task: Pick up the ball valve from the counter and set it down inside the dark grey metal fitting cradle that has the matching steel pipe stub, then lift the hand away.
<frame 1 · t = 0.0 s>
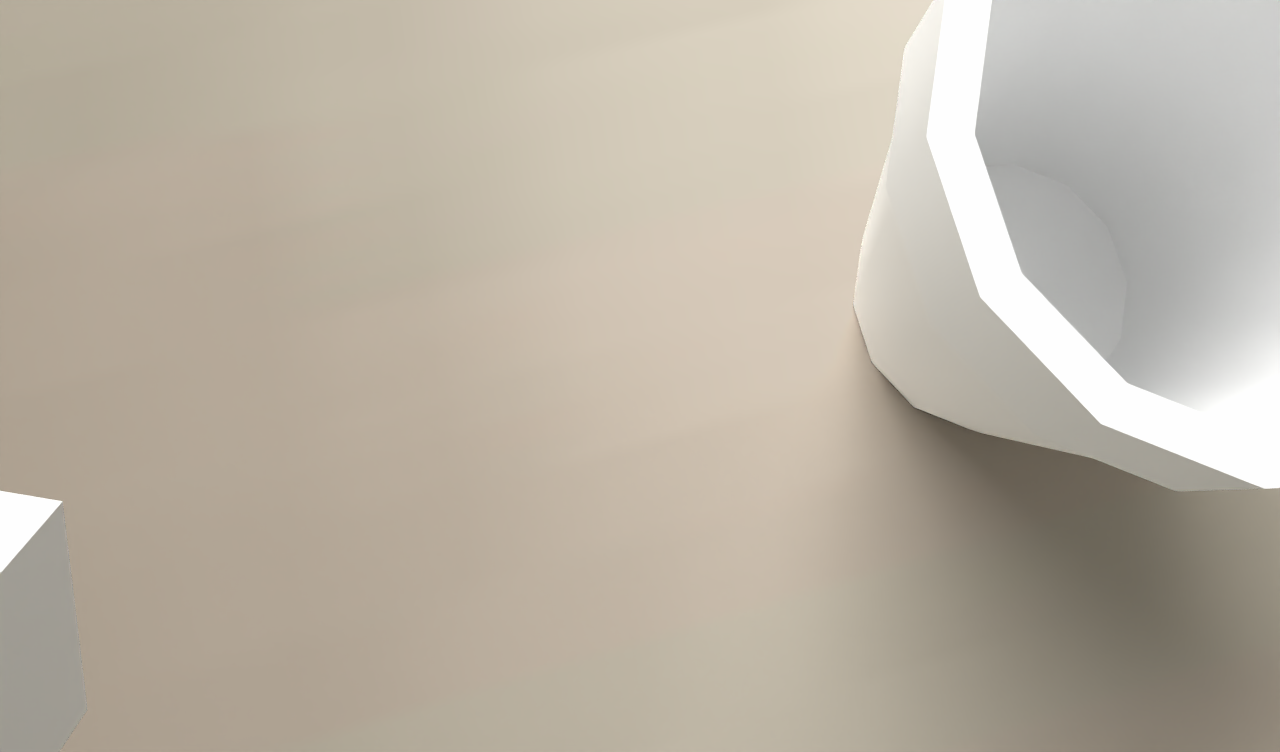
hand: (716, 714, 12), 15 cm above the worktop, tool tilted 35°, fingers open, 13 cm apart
foam cup: (985, 297, 28), on the worktop
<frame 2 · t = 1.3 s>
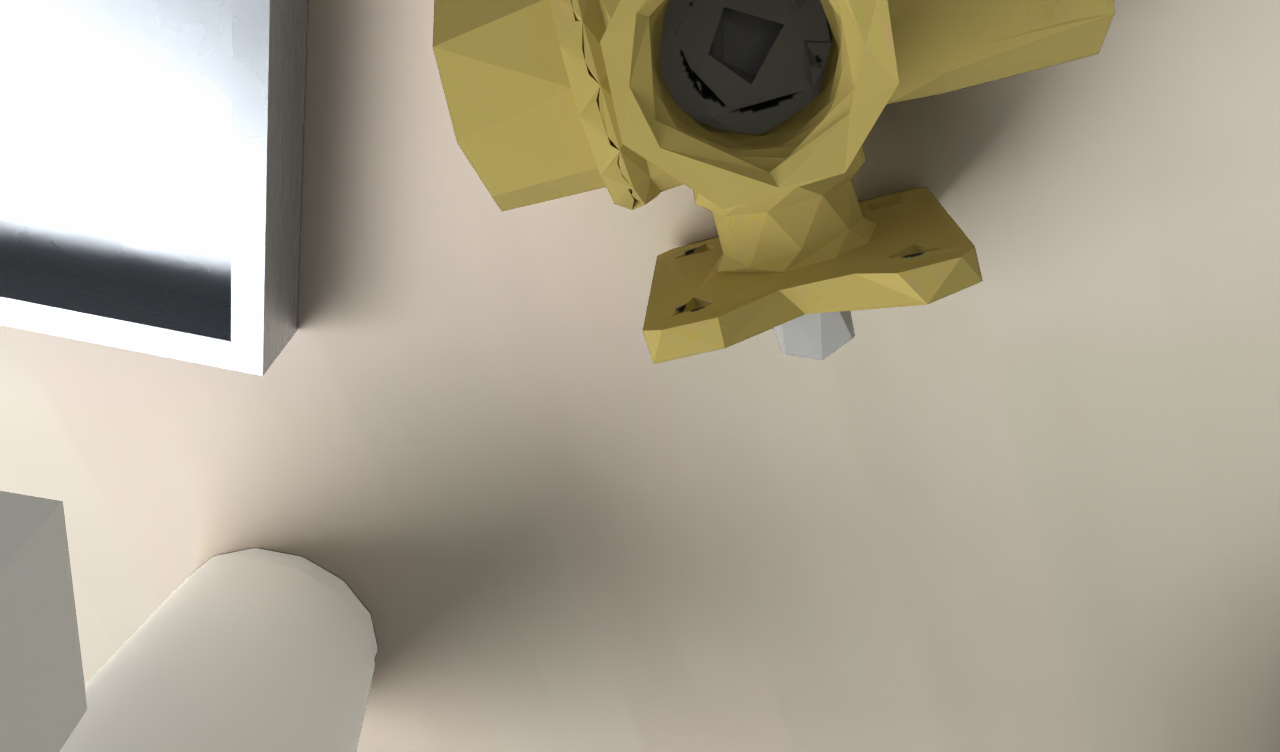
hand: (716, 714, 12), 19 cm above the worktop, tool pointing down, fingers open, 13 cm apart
foam cup: (279, 626, 37), on the worktop
ball valve: (783, 82, 28), on the worktop
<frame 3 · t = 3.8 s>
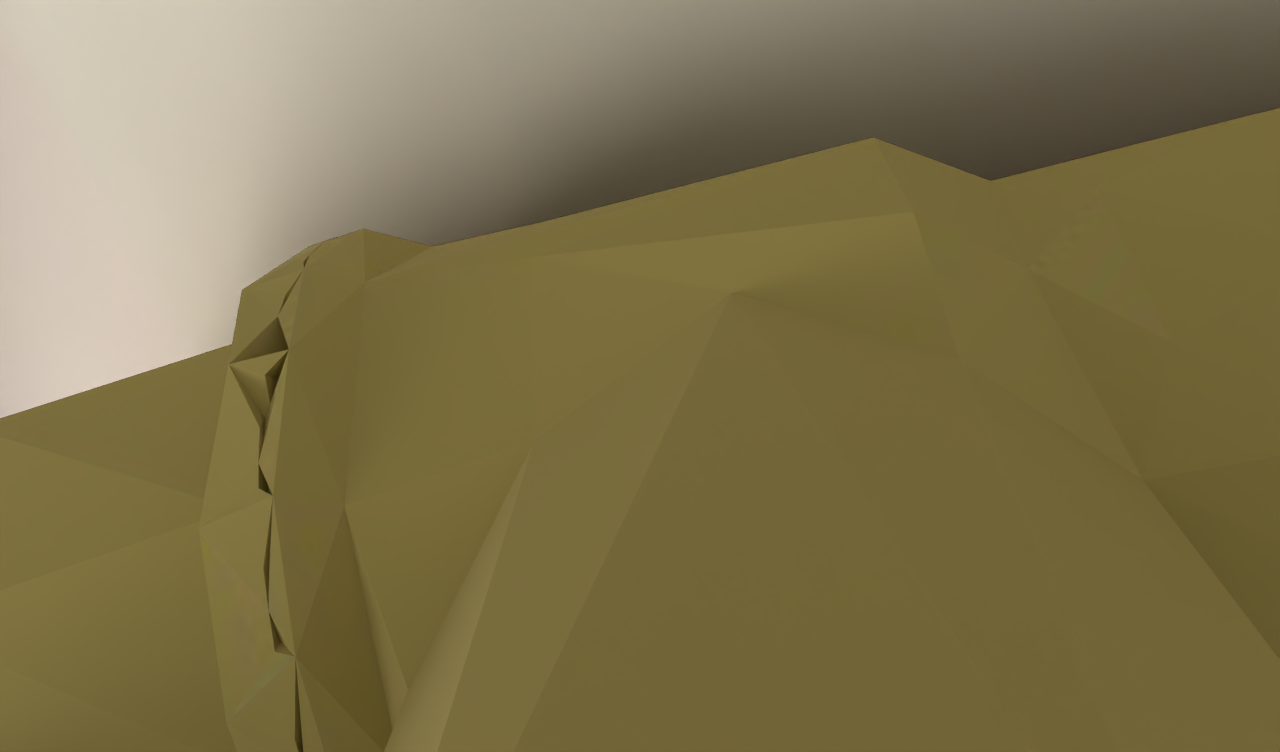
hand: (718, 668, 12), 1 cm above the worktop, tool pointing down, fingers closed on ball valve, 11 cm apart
ball valve: (857, 499, 13), on the worktop, touching gripper
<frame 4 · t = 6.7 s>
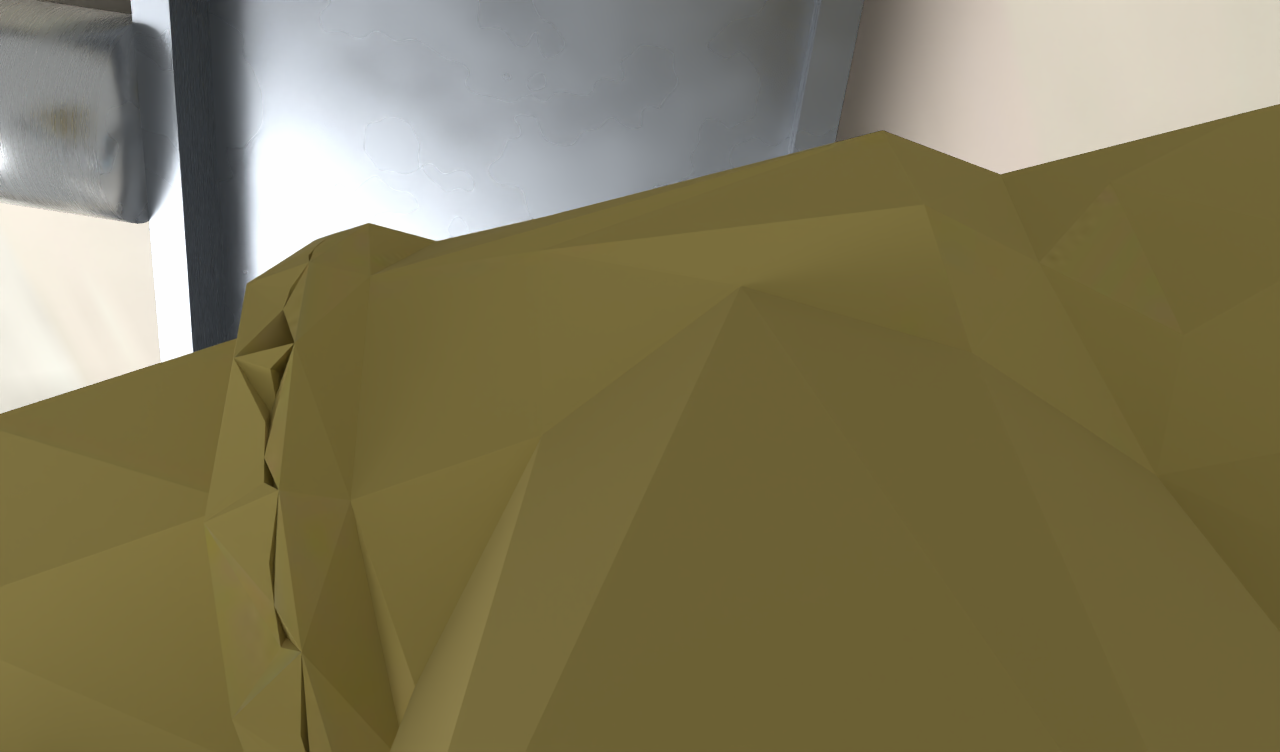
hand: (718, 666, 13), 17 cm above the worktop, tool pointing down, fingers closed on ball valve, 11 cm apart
fitting cradle: (500, 141, 28), on the worktop
ball valve: (863, 496, 13), point 16 cm above the worktop, touching gripper
when the fingers open (4 cm above the worktop, at t = 9.8 s): ball valve stays where it is, resting on fitting cradle.
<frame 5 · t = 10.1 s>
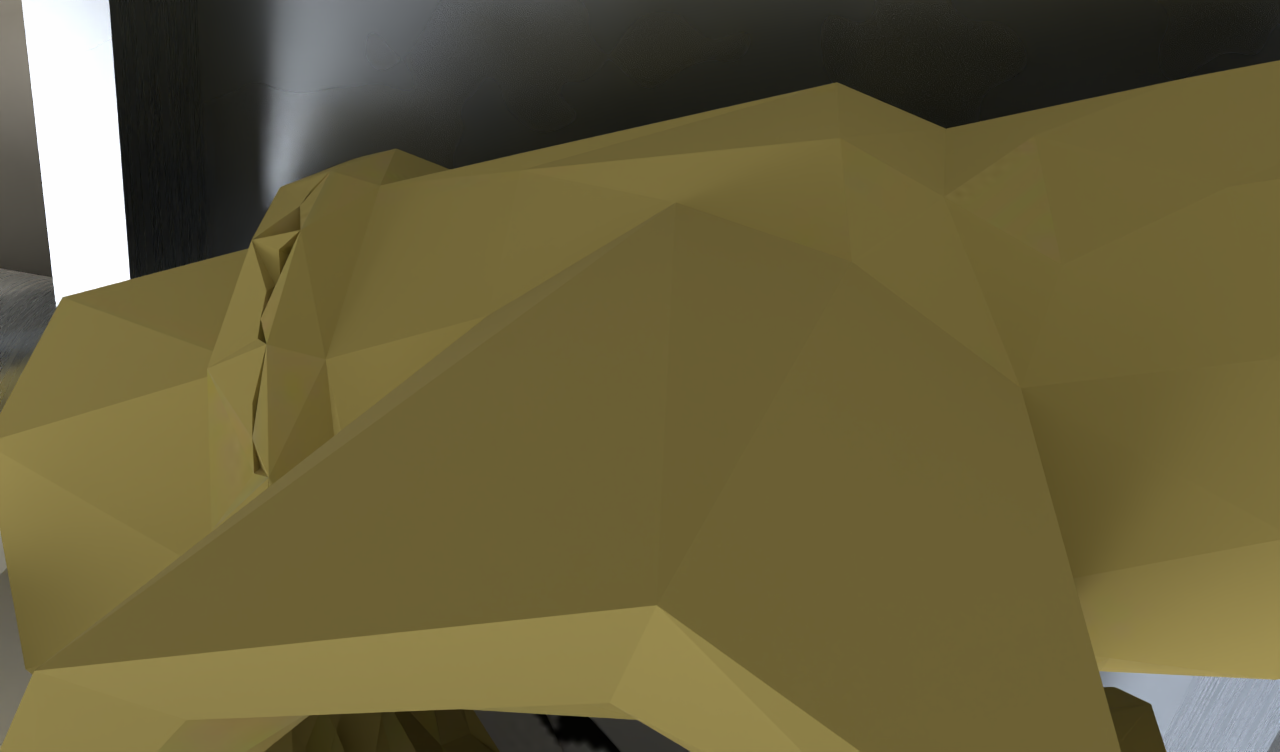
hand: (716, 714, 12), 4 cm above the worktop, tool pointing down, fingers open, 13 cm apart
fitting cradle: (726, 476, 16), on the worktop
ball valve: (866, 457, 14), point 1 cm above the worktop, touching fitting cradle
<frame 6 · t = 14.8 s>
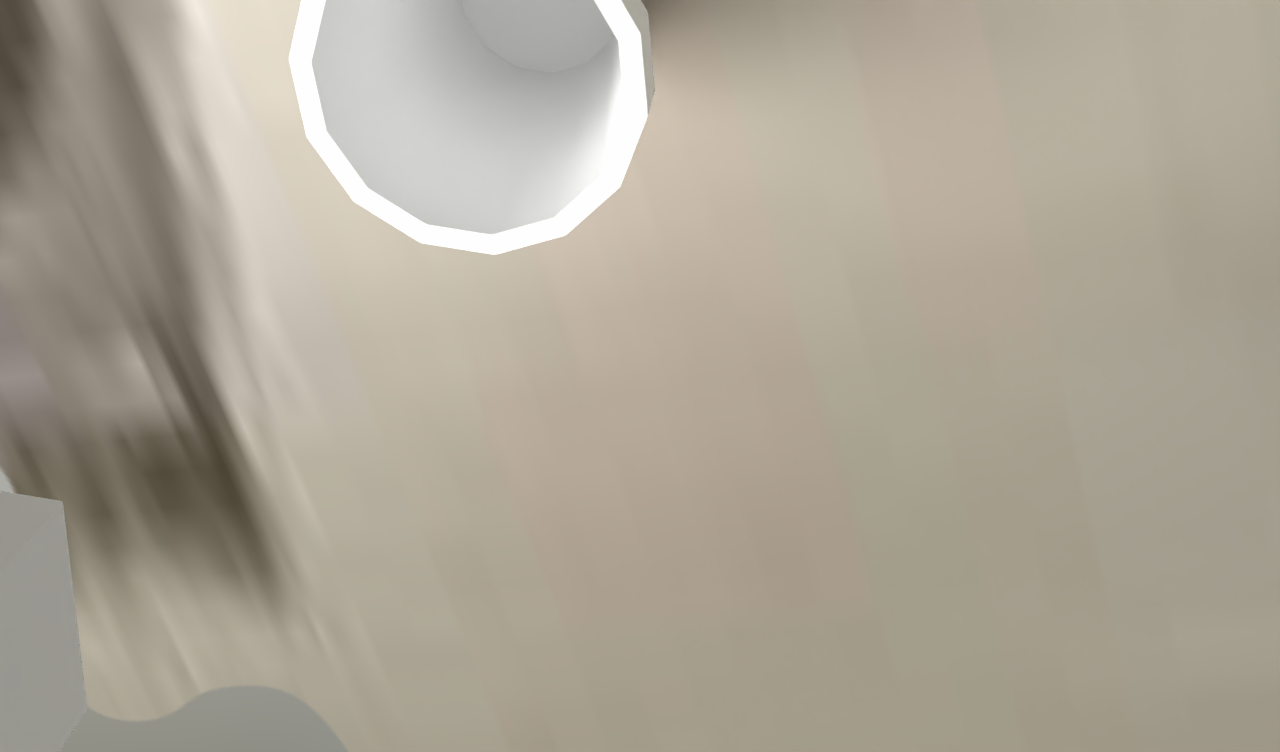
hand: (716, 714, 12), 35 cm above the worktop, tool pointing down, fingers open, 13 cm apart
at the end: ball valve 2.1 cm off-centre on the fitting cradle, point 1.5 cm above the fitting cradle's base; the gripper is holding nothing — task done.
